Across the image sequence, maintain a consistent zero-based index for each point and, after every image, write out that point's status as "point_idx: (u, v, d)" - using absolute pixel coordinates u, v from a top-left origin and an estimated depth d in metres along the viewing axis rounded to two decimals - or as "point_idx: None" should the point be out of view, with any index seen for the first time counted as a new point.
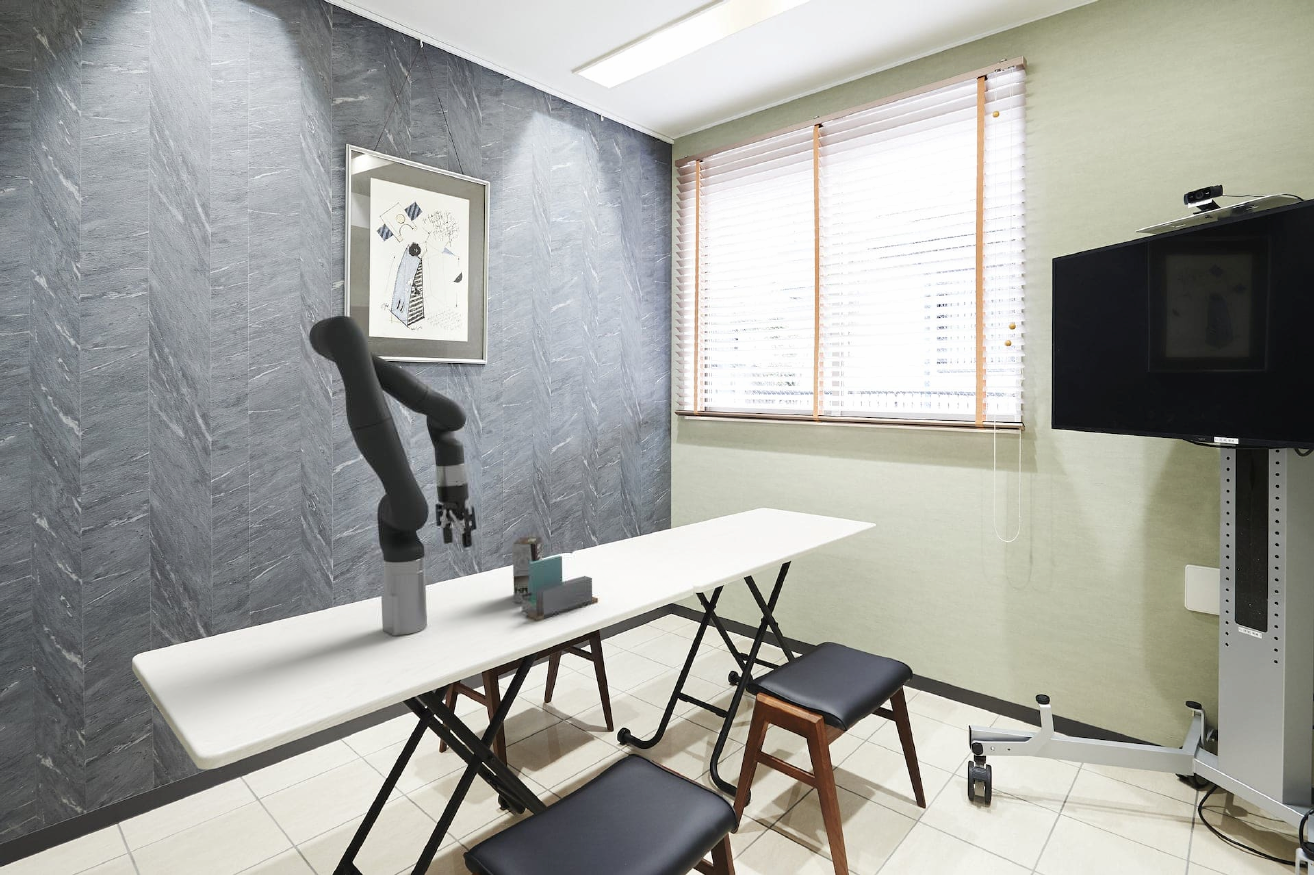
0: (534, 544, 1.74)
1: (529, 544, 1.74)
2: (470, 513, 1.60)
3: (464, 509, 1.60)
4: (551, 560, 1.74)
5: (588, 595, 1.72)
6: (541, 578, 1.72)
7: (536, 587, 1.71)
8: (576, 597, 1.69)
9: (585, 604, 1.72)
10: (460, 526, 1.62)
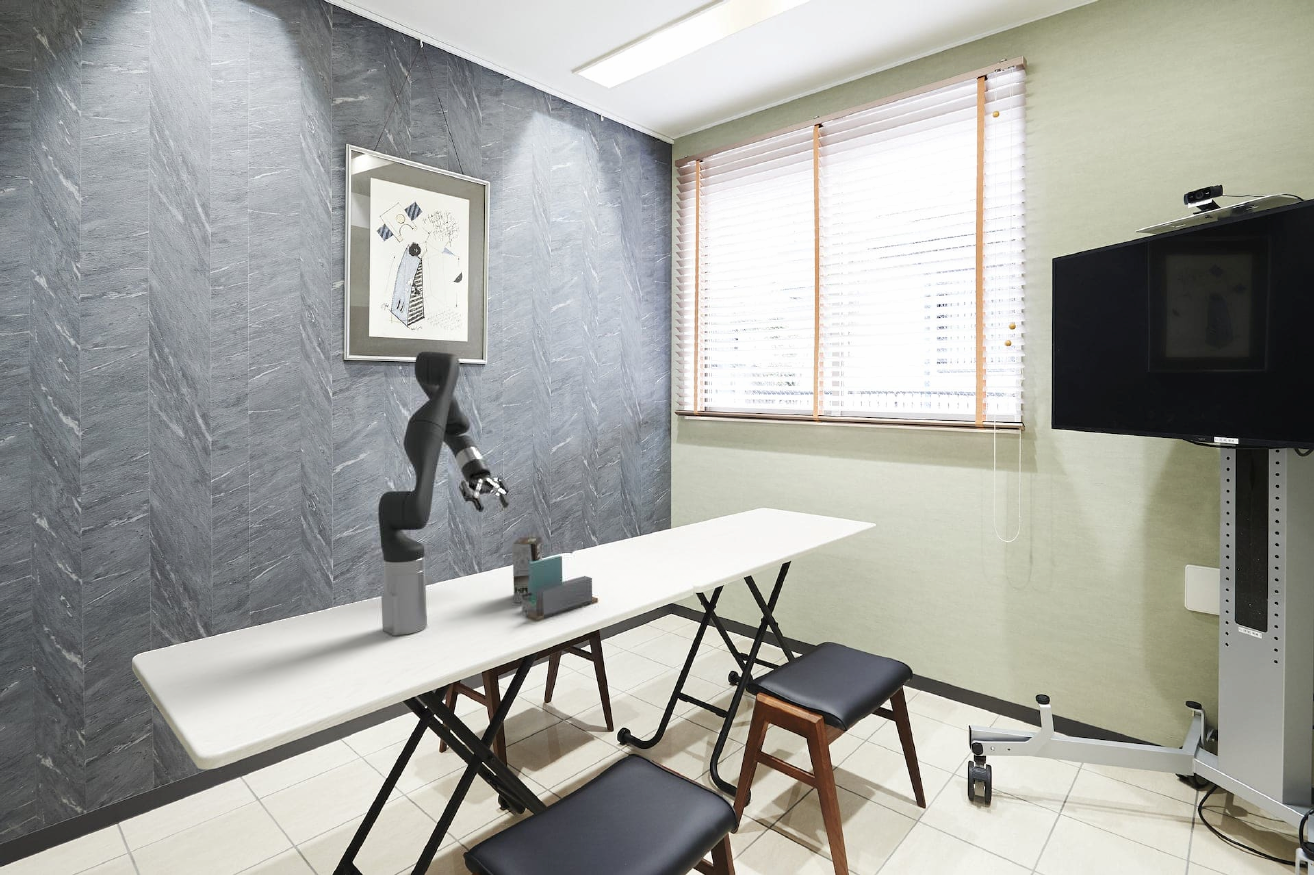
0: (534, 544, 1.74)
1: (529, 544, 1.74)
2: None
3: (501, 476, 1.98)
4: (551, 560, 1.74)
5: (588, 595, 1.72)
6: (541, 578, 1.72)
7: (536, 587, 1.71)
8: (576, 597, 1.69)
9: (585, 604, 1.72)
10: (499, 489, 1.94)
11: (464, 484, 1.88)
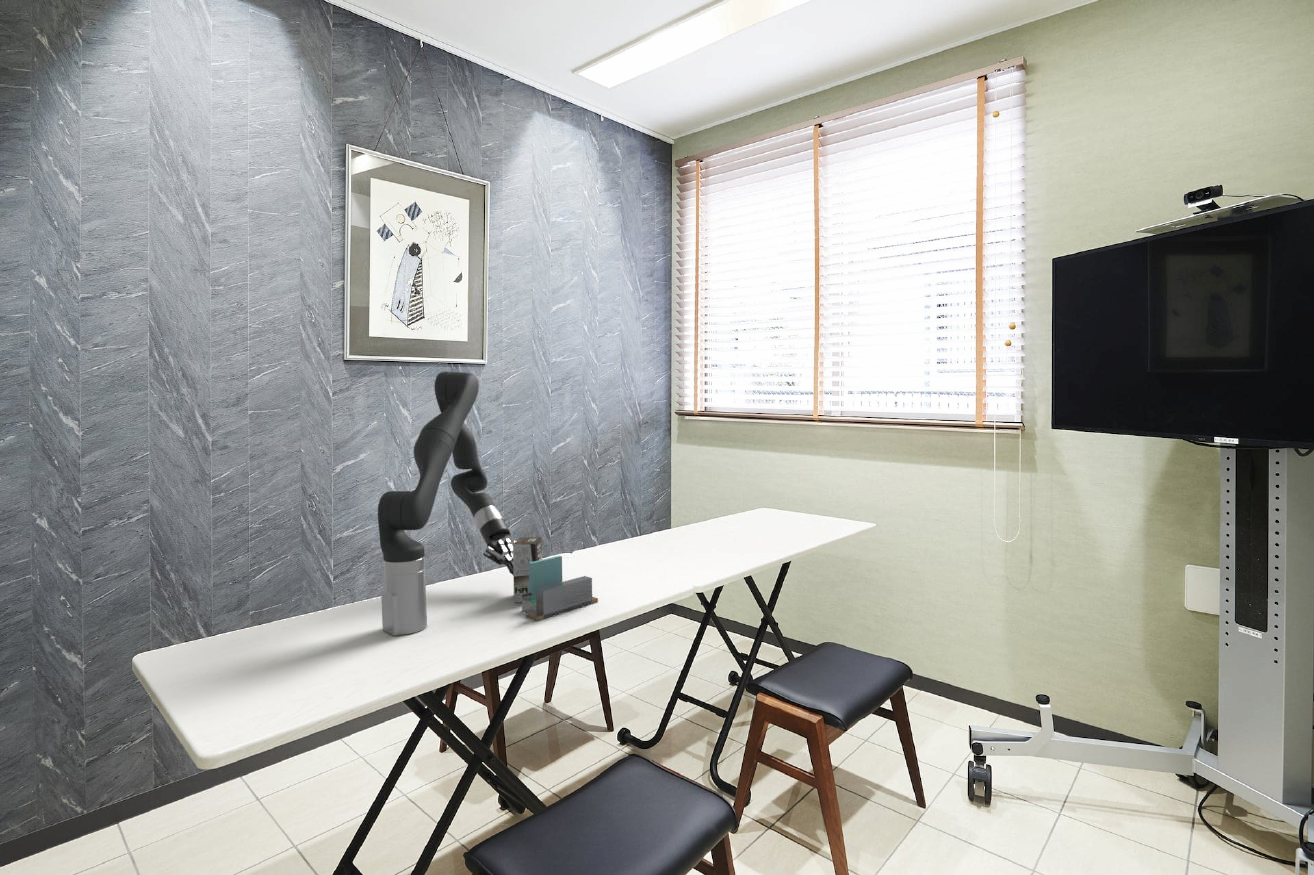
0: (534, 544, 1.74)
1: (529, 544, 1.74)
2: None
3: None
4: (551, 560, 1.74)
5: (588, 595, 1.72)
6: (541, 578, 1.72)
7: (536, 587, 1.71)
8: (576, 597, 1.69)
9: (585, 604, 1.72)
10: (512, 553, 1.85)
11: (491, 551, 1.82)
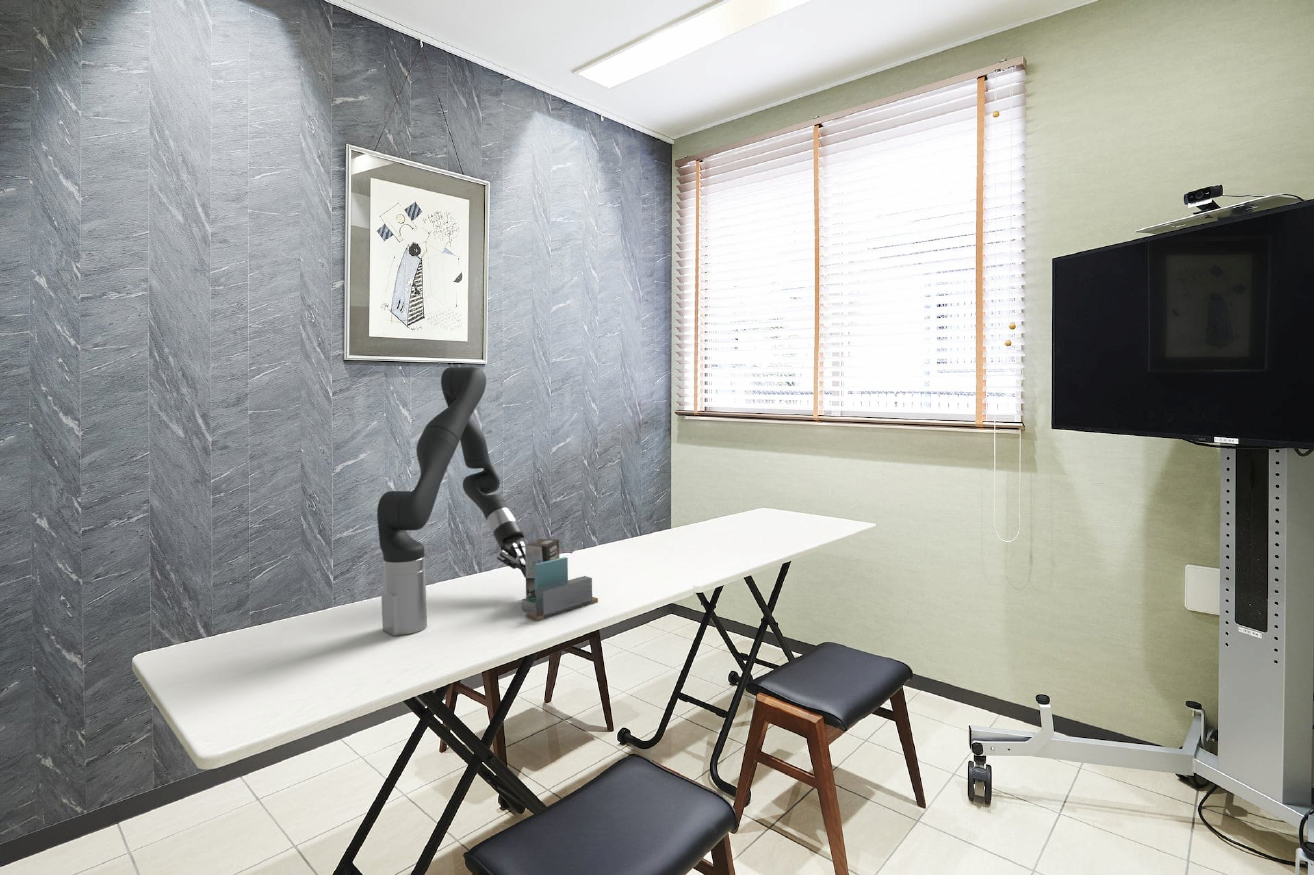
0: (545, 546, 1.71)
1: (540, 546, 1.72)
2: None
3: None
4: (557, 561, 1.72)
5: (588, 595, 1.72)
6: (546, 579, 1.70)
7: None
8: (576, 597, 1.69)
9: (585, 604, 1.72)
10: None
11: (505, 554, 1.78)
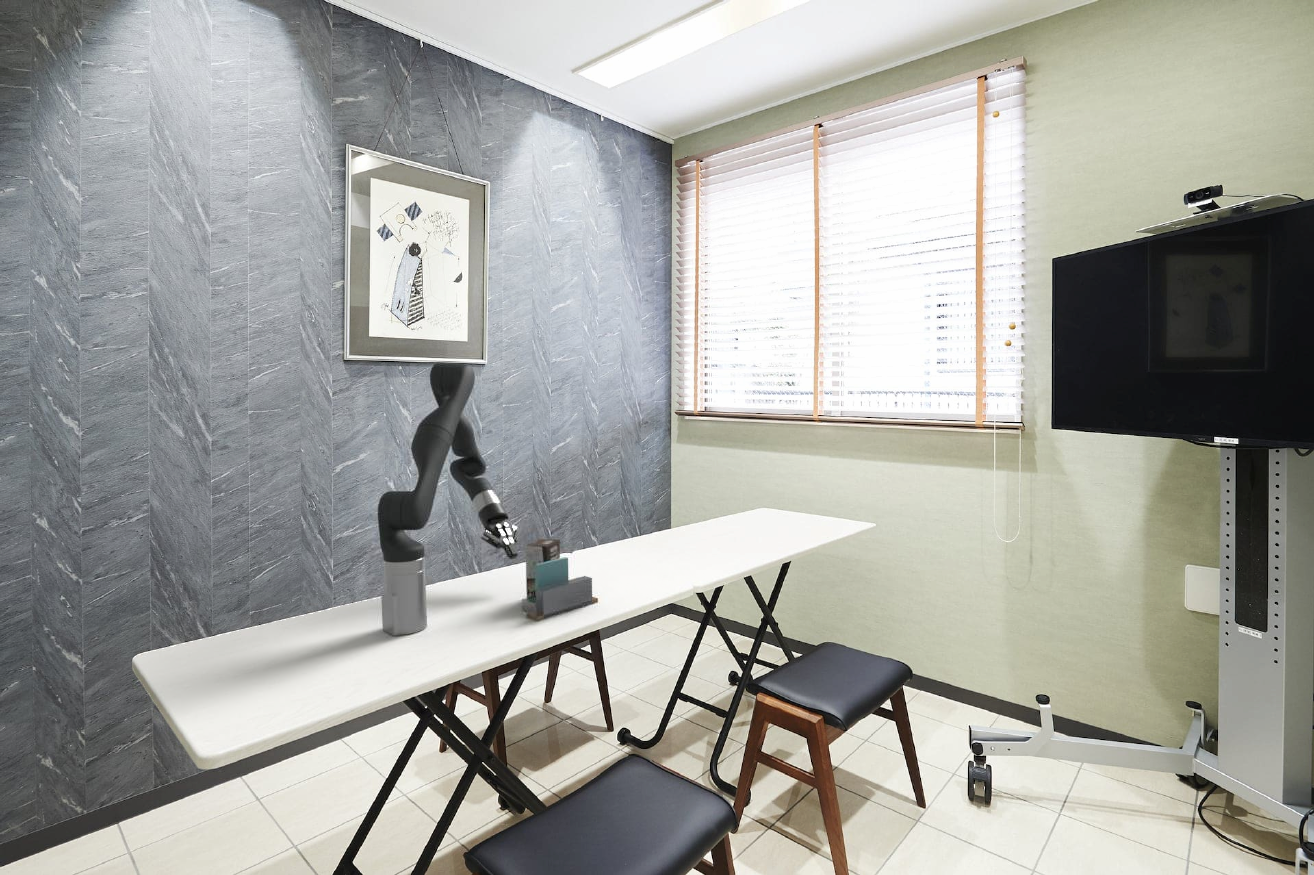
0: (546, 547, 1.71)
1: (541, 546, 1.71)
2: None
3: (520, 526, 1.91)
4: (557, 562, 1.72)
5: (588, 595, 1.72)
6: (547, 580, 1.70)
7: None
8: (576, 597, 1.69)
9: (585, 604, 1.72)
10: (510, 537, 1.86)
11: (488, 534, 1.83)
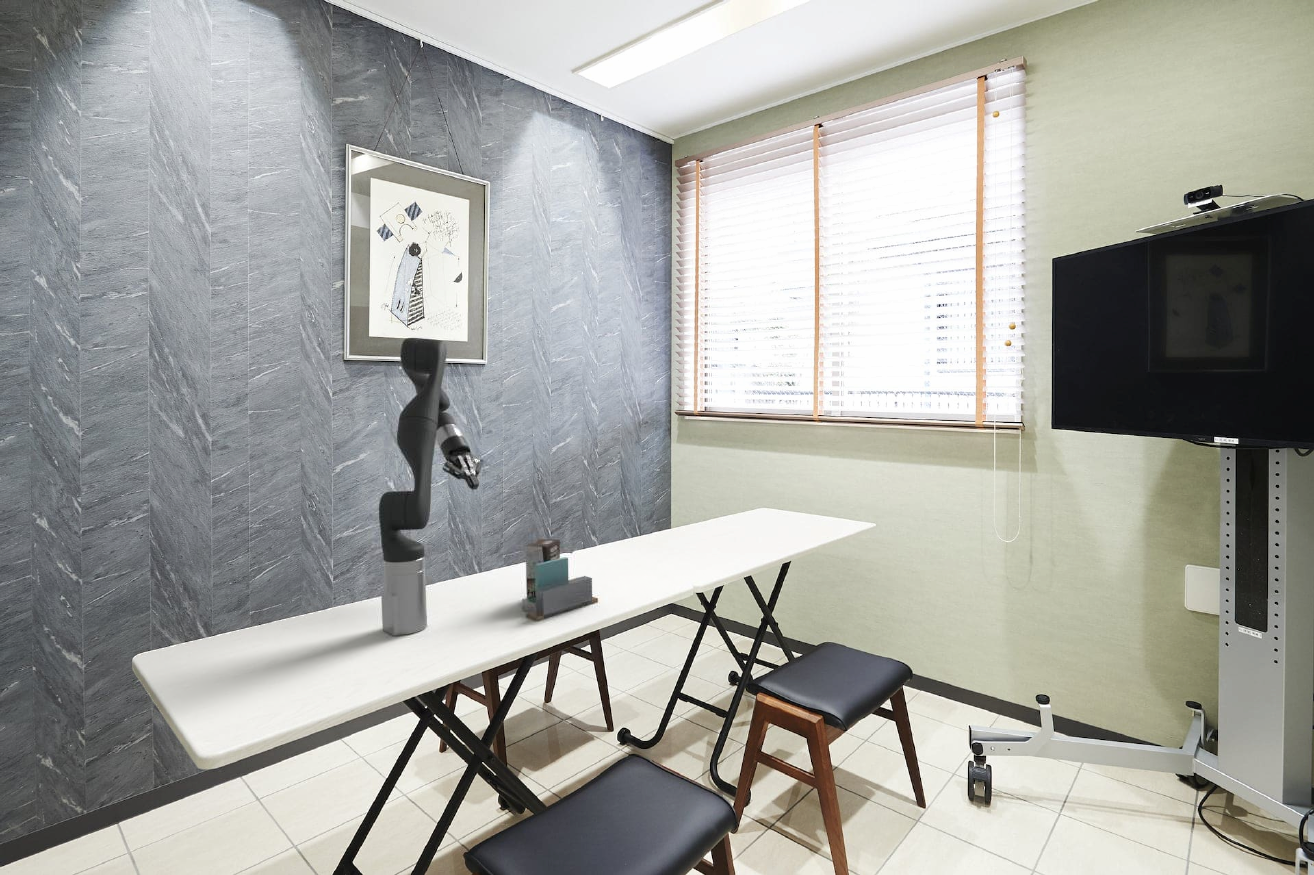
0: (546, 547, 1.71)
1: (541, 546, 1.71)
2: None
3: (482, 460, 1.92)
4: (557, 562, 1.72)
5: (588, 595, 1.72)
6: (547, 580, 1.70)
7: None
8: (576, 597, 1.69)
9: (585, 604, 1.72)
10: (472, 469, 1.87)
11: (449, 465, 1.84)
